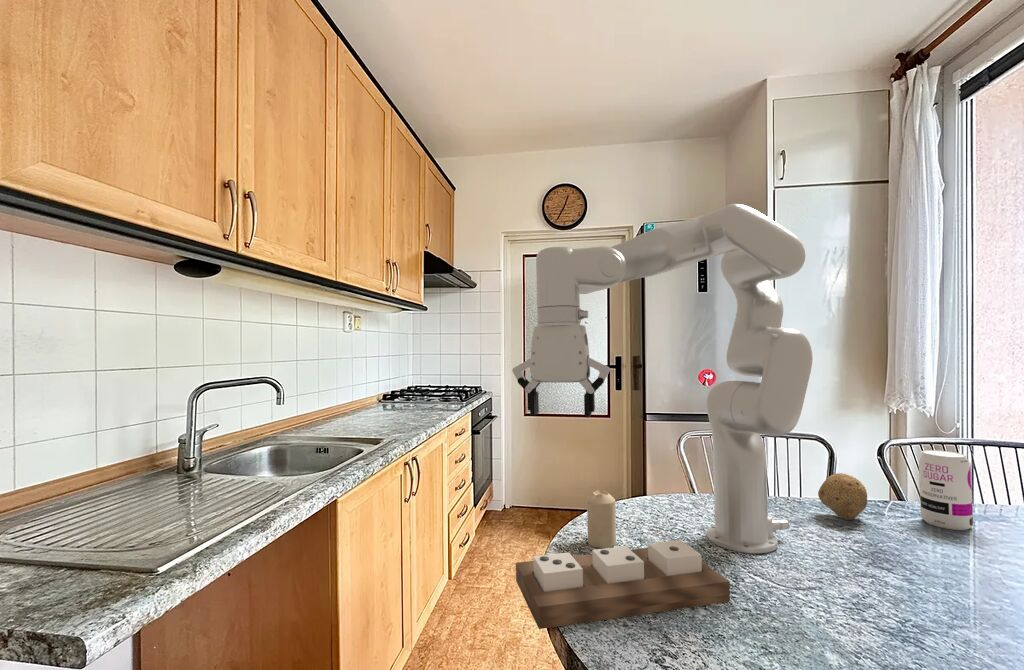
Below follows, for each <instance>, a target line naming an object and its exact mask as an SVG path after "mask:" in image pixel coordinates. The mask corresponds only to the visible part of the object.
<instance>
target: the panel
mask: <svg viewBox="0 0 1024 670" xmlns="http://www.w3.org/2000/svg"><path fill="white" fill-rule="evenodd" d="M630 550H631V551H632V552H633V553H635V554H636V555H637V556H638V557H639V558H640V559H641V560H642V561H644V579H642V580H634V581H626V582H618V583H610V584H606V582H605V581H604V580H603V579H602V578H601V577H600V575H599V574H598V573H597V572H596V571H595V570H594V568H593V554H592V553H590V554H589V553H588V554H583V555H572V556H573V558H574V559H575V560H576V561H577V563H578V564H579V565H580V566H581V568H582V569H583V587H579V588H571V589H564V590H556V591H548V592H543V591H542V589H541V587H540V586H539V584H538V582H537V580H536V579H535V577H534V560H529V561H520V562H519V561H518V562H515V582H516V584H517V587H518V588H519V590H520V592H521V594H522V597H523V599H524V601H525V603H526V605H527V606H528V609H529V611H530V613H531V617H533V620H534V621H535V624H536V626H537V628H538V630H542V629H543V630H544V629H550V628H551V629H552V628H556V627H563V626H569V625H578V624H582V623H583V624H584V623H585V624H586V623H593V622H598V621H604V620H610V619H618V618H624V617H630V616H638V615H646V614H652V613H659V612H665V611H673V610H678V609H679V610H680V609H688V608H694V607H700V606H706V605H708V606H709V605H714V604H720V603H721V604H722V603H728V602H731V590H730V589H731V587H730V586H731V583H730V580H729V579H727V578H726V577H725V576H723V575H722V574H720V573H719V572H717V571H716V570H715V569H713V568H712V567H711V566H709V565H707V564H706V563H704V562H703V561H702V572H696V573H688V574H680V575H673V576H666V575H665V574H664V573H663V572H661V571H660V570H659V569H658V568H657V567H656V566H654V565H653V564H652V563H651V562H650V561H649V560H648V547H645V548H635V549H630Z"/></svg>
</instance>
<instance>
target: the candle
mask: <svg viewBox="0 0 1024 670" xmlns="http://www.w3.org/2000/svg"><path fill="white" fill-rule="evenodd" d="M586 505H587V506H586V509H587V511H586V512H587V515H586V517H587V543H588V545H590V546H592V547H594V548H597V549H605V548H614V547H616V544H617V522H616V521H617V520H616V517H617V516H616V499H615V498H614V497H613V495H611V494H610V493H609V492H607V491H606V490H605V489H603V490H595V491H594V492H592V493H590V495H588V496H587V498H586Z"/></svg>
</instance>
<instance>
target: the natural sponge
mask: <svg viewBox="0 0 1024 670" xmlns="http://www.w3.org/2000/svg"><path fill="white" fill-rule="evenodd" d="M817 494H818V499H819V500H820V502H821V503H822V504H823V505H825V506H826V507H828V508H829V509H830V510H831V511H832V512H833V513H834V514H835V515H836V516H837V517H839V518H840V519H843V520H845V521H850V520H851V521H852V520H855V519H856V518H857V517H858V516H859V515H860V514H861V513H862V512H864V510H865V509H866V508H867V505H868V493H867V489H866V487H865V485H864V484H863V483H862V482H861V481H860V480H859V479H857V478H856V477H854V476H852V475H850V474H847V473H840V472H839V473H834V474H831V475H829V476H828V477H827V478H826V479H825V480H824V481H823V483H822V484H821V486H820V487H819V490H818V493H817Z"/></svg>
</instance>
